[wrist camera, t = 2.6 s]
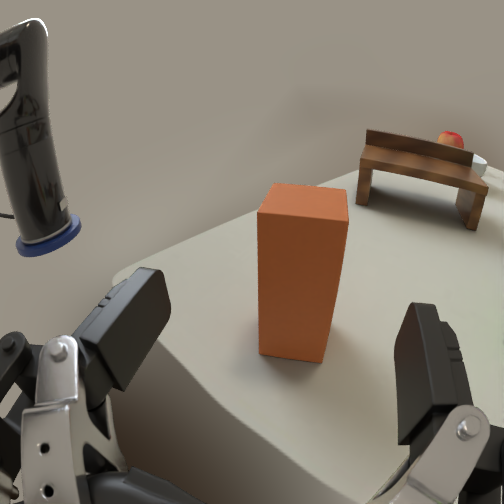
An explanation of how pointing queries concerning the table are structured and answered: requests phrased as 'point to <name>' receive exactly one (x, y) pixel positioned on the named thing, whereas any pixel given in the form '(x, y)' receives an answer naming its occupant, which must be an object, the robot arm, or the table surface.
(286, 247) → the carton
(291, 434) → the table surface
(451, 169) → the shelf
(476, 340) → the table surface
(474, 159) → the cereal bowl
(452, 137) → the apple
